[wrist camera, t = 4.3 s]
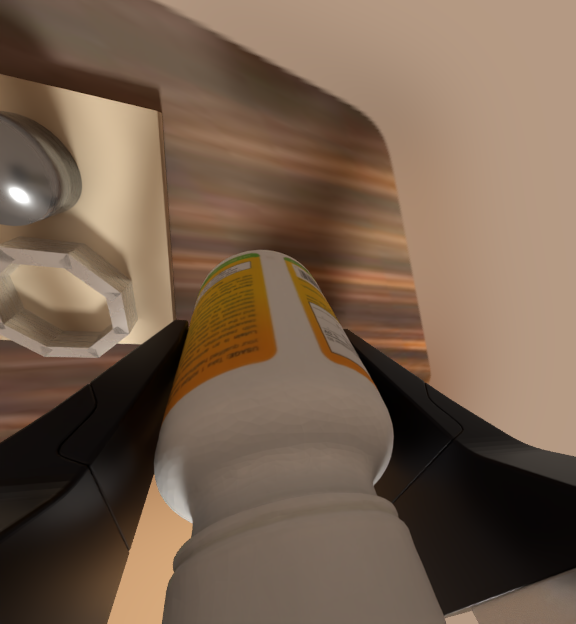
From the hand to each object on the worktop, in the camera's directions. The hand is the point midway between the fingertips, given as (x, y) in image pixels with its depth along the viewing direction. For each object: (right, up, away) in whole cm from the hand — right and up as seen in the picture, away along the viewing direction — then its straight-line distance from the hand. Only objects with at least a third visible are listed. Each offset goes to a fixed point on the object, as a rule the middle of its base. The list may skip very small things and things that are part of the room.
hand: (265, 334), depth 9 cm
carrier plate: (-15, +6, +8) cm, 18 cm away
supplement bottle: (0, +1, +2) cm, 3 cm away
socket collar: (-16, +3, +10) cm, 19 cm away
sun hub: (-14, +10, +6) cm, 18 cm away
